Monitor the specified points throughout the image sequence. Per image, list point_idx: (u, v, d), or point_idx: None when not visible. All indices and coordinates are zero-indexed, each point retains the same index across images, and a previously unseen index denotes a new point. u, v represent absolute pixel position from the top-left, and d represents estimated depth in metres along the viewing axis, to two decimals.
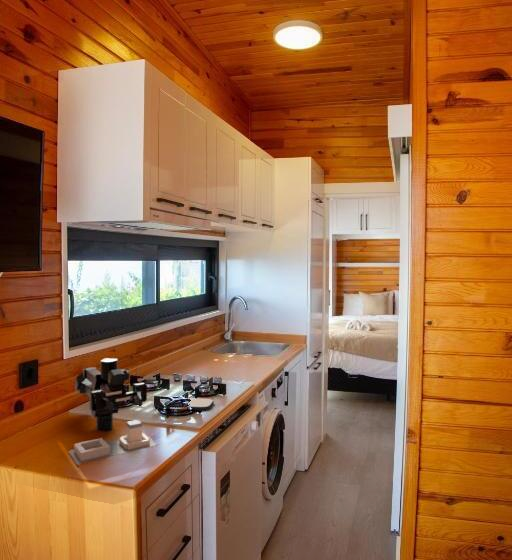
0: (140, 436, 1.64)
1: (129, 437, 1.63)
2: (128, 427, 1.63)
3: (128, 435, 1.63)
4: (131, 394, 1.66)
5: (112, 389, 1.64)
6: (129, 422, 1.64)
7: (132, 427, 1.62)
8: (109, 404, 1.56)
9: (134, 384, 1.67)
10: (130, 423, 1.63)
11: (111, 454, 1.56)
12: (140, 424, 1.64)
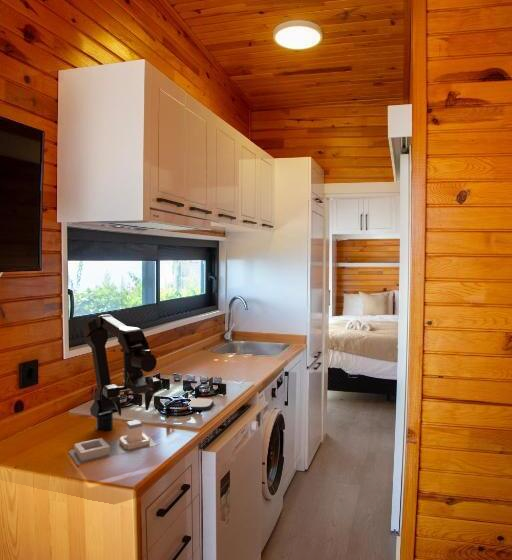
0: (140, 436, 1.64)
1: (129, 437, 1.63)
2: (128, 427, 1.63)
3: (128, 435, 1.63)
4: None
5: None
6: (129, 422, 1.64)
7: (132, 427, 1.62)
8: (118, 411, 1.61)
9: (152, 387, 1.64)
10: (130, 423, 1.63)
11: (111, 454, 1.56)
12: (140, 424, 1.64)
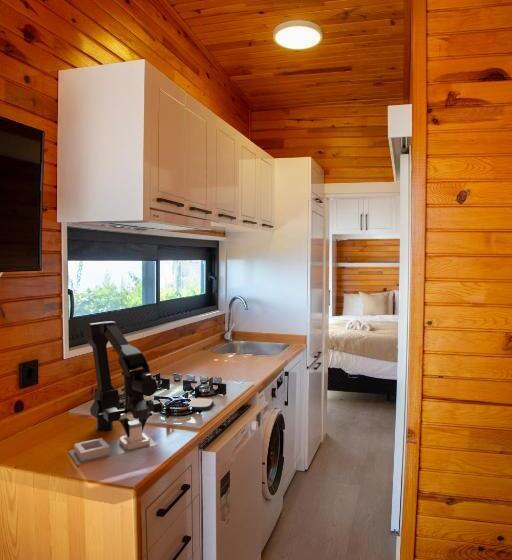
0: (140, 436, 1.64)
1: (129, 437, 1.63)
2: None
3: None
4: None
5: None
6: (129, 422, 1.64)
7: (132, 427, 1.62)
8: (126, 433, 1.63)
9: (152, 409, 1.65)
10: (130, 423, 1.63)
11: (111, 454, 1.56)
12: (140, 424, 1.64)
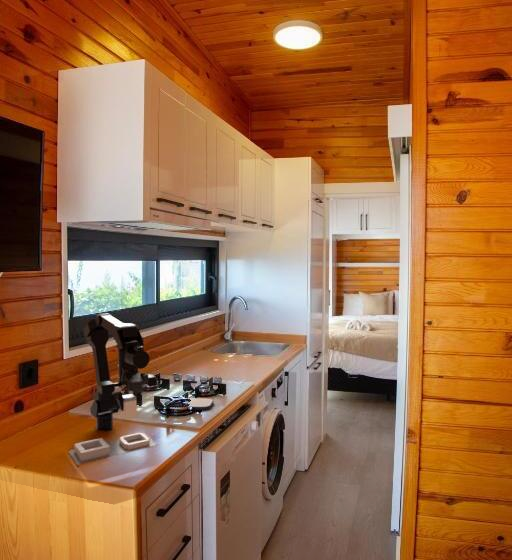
0: (134, 410, 1.62)
1: (123, 411, 1.61)
2: None
3: (123, 409, 1.62)
4: None
5: None
6: (123, 396, 1.63)
7: (126, 400, 1.60)
8: (120, 406, 1.61)
9: (147, 383, 1.63)
10: (124, 397, 1.62)
11: (111, 454, 1.56)
12: (134, 397, 1.62)
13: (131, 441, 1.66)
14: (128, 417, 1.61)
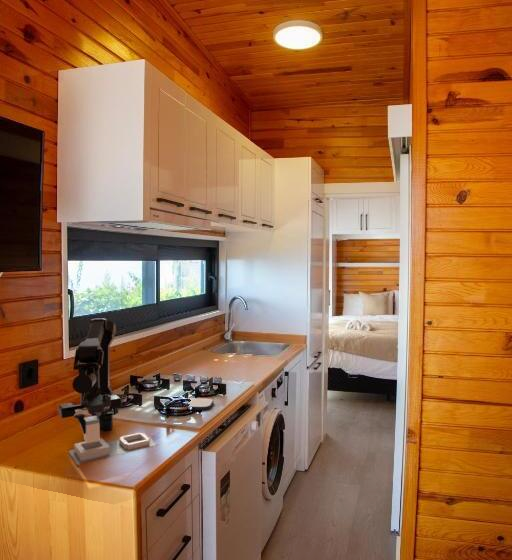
0: (97, 433, 1.56)
1: (85, 434, 1.55)
2: None
3: None
4: None
5: None
6: (86, 418, 1.56)
7: (88, 423, 1.54)
8: (82, 429, 1.55)
9: (110, 405, 1.57)
10: (87, 419, 1.55)
11: (111, 454, 1.56)
12: (97, 420, 1.56)
13: (131, 441, 1.66)
14: (90, 441, 1.55)
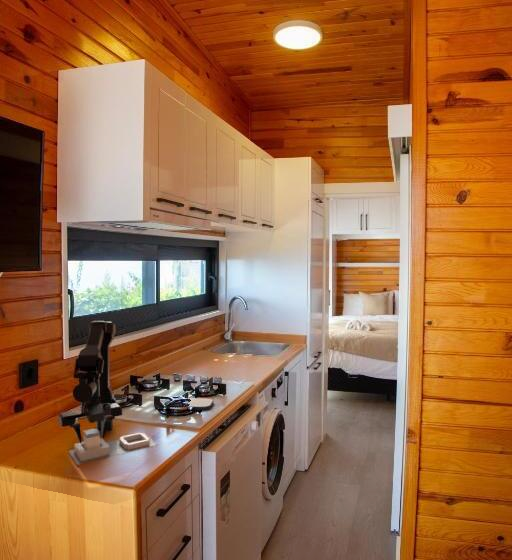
0: (98, 446, 1.56)
1: (86, 447, 1.55)
2: (85, 436, 1.56)
3: (85, 445, 1.55)
4: None
5: None
6: (86, 431, 1.57)
7: (89, 436, 1.54)
8: (78, 438, 1.54)
9: (111, 413, 1.57)
10: (87, 432, 1.56)
11: (111, 454, 1.56)
12: (98, 433, 1.56)
13: (131, 441, 1.66)
14: None
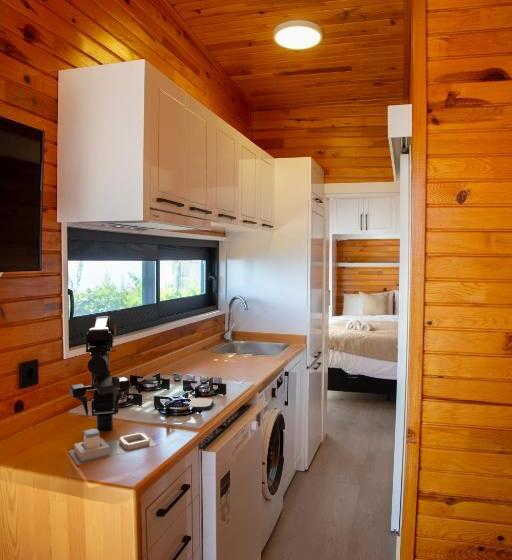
0: (98, 446, 1.56)
1: (86, 447, 1.55)
2: (85, 436, 1.56)
3: (85, 445, 1.55)
4: None
5: None
6: (86, 431, 1.57)
7: (89, 436, 1.54)
8: (85, 410, 1.61)
9: (119, 386, 1.64)
10: (87, 432, 1.56)
11: (111, 454, 1.56)
12: (98, 433, 1.56)
13: (131, 441, 1.66)
14: None
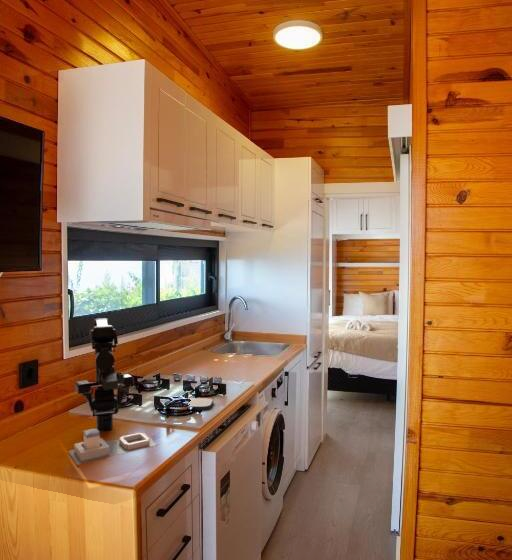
0: (98, 446, 1.56)
1: (86, 447, 1.55)
2: (85, 436, 1.56)
3: (85, 445, 1.55)
4: None
5: None
6: (86, 431, 1.57)
7: (89, 436, 1.54)
8: (89, 406, 1.64)
9: (123, 383, 1.67)
10: (87, 432, 1.56)
11: (111, 454, 1.56)
12: (98, 433, 1.56)
13: (131, 441, 1.66)
14: None
